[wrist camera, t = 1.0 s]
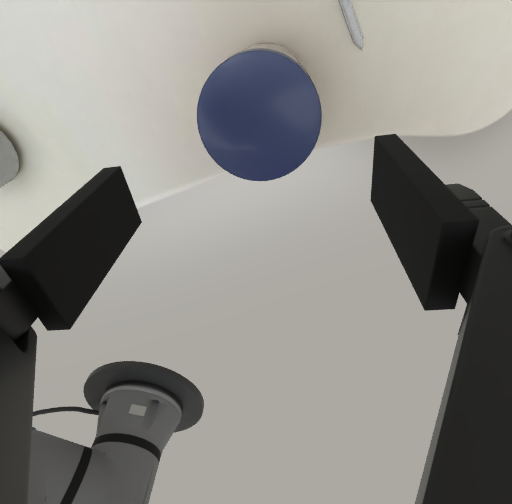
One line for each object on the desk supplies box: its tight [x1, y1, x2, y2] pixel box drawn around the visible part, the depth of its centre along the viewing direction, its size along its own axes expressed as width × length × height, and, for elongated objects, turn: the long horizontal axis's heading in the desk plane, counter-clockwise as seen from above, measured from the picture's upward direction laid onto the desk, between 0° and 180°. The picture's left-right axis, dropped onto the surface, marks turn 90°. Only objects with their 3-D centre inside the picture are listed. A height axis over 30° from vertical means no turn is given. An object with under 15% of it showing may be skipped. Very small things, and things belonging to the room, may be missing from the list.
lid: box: [197, 48, 322, 181], centre depth 23 cm, size 8×8×2 cm
